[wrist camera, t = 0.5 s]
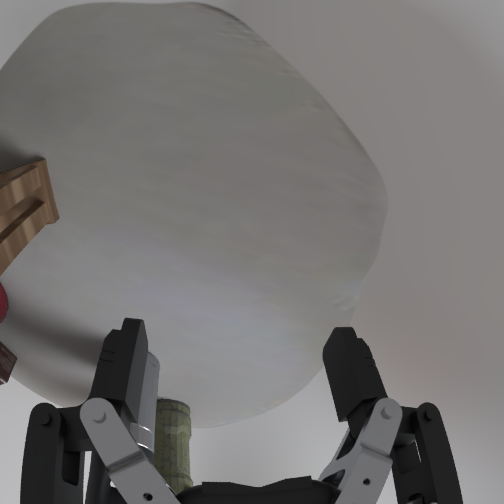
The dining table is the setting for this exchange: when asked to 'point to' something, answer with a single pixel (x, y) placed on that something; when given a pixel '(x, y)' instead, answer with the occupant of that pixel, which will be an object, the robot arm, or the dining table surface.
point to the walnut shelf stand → (24, 208)
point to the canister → (3, 304)
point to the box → (6, 364)
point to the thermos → (173, 444)
